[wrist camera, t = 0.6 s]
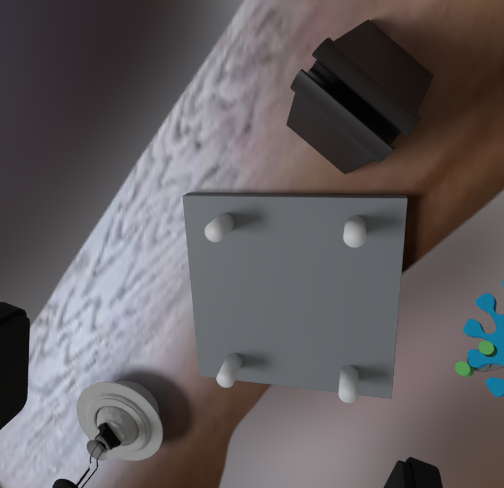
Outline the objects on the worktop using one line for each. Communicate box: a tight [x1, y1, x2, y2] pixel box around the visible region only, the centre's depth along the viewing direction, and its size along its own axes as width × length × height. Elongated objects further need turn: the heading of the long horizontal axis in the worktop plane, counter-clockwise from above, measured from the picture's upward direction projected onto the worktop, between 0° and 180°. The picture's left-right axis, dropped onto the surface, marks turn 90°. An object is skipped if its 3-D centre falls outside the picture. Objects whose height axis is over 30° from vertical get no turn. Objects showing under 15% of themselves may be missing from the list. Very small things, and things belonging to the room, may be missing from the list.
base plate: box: [183, 193, 407, 403], centre depth 35 cm, size 18×18×4 cm
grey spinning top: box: [52, 380, 163, 488], centre depth 41 cm, size 12×10×10 cm
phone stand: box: [286, 19, 433, 174], centre depth 25 cm, size 9×6×12 cm, turn 142°
